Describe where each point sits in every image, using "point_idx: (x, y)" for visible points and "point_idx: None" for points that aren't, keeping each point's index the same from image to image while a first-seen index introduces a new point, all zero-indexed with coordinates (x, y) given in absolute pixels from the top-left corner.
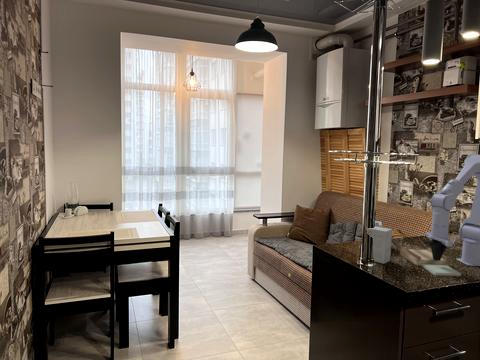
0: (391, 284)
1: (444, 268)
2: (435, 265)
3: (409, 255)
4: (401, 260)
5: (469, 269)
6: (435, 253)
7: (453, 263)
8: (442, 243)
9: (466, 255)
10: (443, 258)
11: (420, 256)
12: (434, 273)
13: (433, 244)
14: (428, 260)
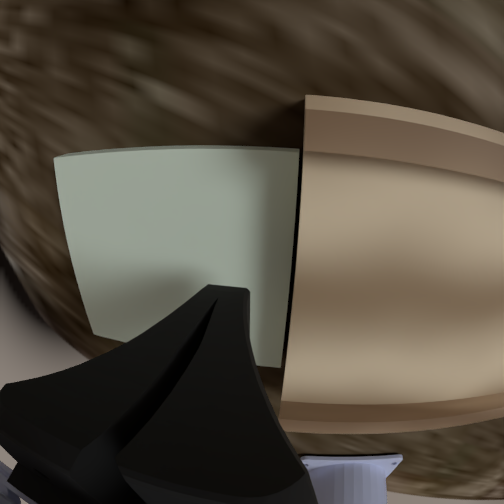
0: None
1: (170, 300)
2: (245, 274)
3: (494, 130)
4: (460, 44)
5: None
6: (151, 330)
7: None
8: (7, 468)
9: (332, 498)
10: (331, 405)
11: (429, 228)
12: (69, 154)
13: (33, 406)
14: (298, 247)
